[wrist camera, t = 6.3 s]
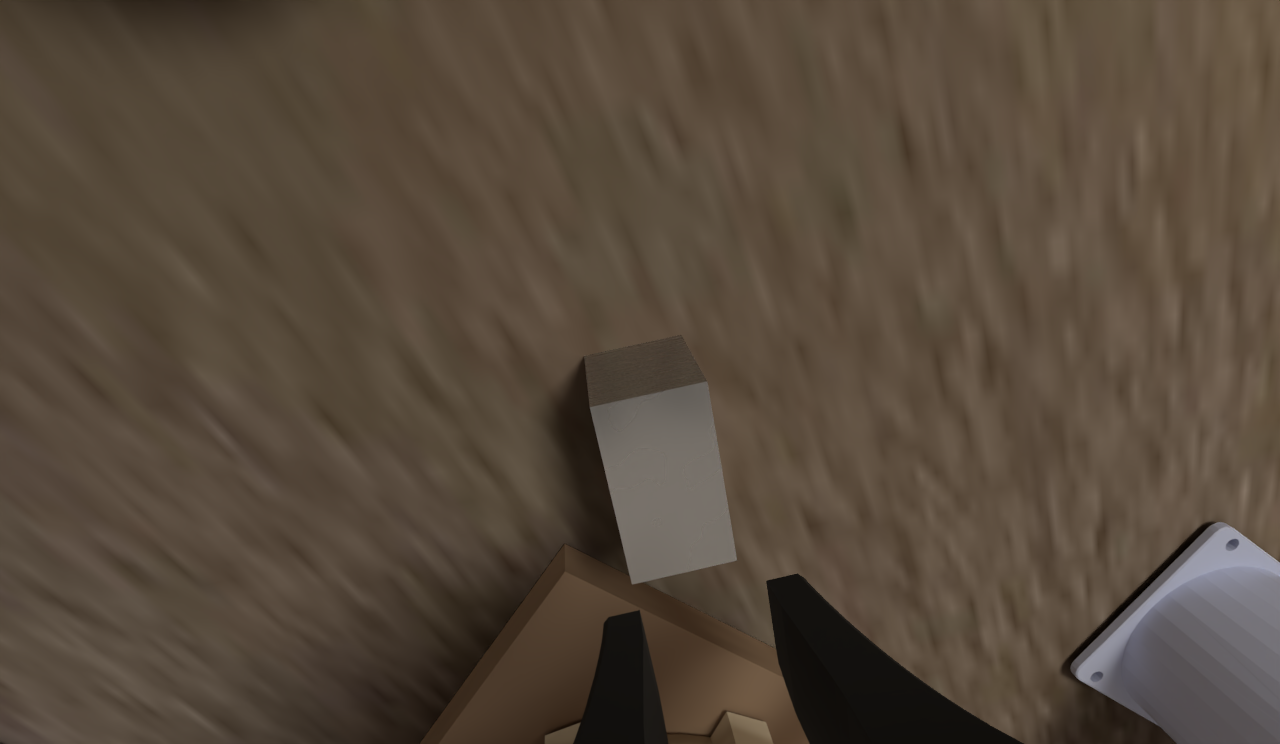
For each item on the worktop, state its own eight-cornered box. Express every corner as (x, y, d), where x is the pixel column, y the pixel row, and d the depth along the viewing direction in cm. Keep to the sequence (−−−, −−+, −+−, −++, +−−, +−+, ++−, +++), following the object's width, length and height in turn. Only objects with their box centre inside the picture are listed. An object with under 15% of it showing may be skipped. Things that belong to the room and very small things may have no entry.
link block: (584, 354, 21) (589, 407, 17) (680, 333, 21) (707, 381, 17) (619, 507, 23) (632, 584, 19) (707, 488, 23) (737, 560, 19)
